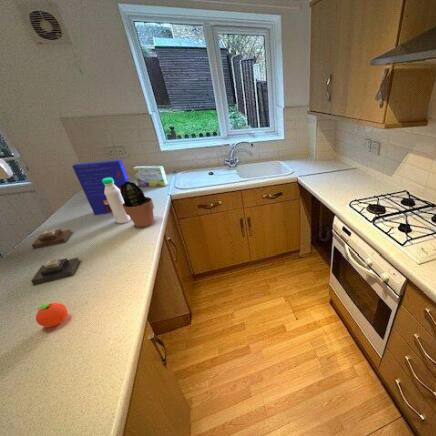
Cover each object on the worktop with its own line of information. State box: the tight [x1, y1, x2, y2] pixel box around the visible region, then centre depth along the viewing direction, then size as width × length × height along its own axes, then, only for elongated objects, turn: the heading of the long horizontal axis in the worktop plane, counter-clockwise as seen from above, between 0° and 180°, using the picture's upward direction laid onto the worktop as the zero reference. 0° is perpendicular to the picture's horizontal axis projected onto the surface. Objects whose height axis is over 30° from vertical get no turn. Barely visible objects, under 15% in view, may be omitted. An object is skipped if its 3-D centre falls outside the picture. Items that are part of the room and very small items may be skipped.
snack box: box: [132, 165, 169, 187], centre depth 183 cm, size 21×6×15 cm, turn 88°
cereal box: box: [72, 158, 130, 216], centre depth 142 cm, size 22×6×30 cm, turn 111°
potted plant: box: [121, 181, 155, 228], centre depth 126 cm, size 14×14×25 cm
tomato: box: [35, 302, 68, 328], centre depth 74 cm, size 8×7×7 cm
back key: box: [42, 228, 57, 236], centre depth 116 cm, size 4×4×2 cm
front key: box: [44, 258, 61, 269], centre depth 95 cm, size 4×4×2 cm
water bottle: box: [102, 178, 132, 224], centre depth 130 cm, size 7×7×25 cm
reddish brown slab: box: [31, 228, 73, 250], centre depth 118 cm, size 12×10×4 cm
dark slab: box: [30, 257, 81, 286], centre depth 96 cm, size 12×10×4 cm
